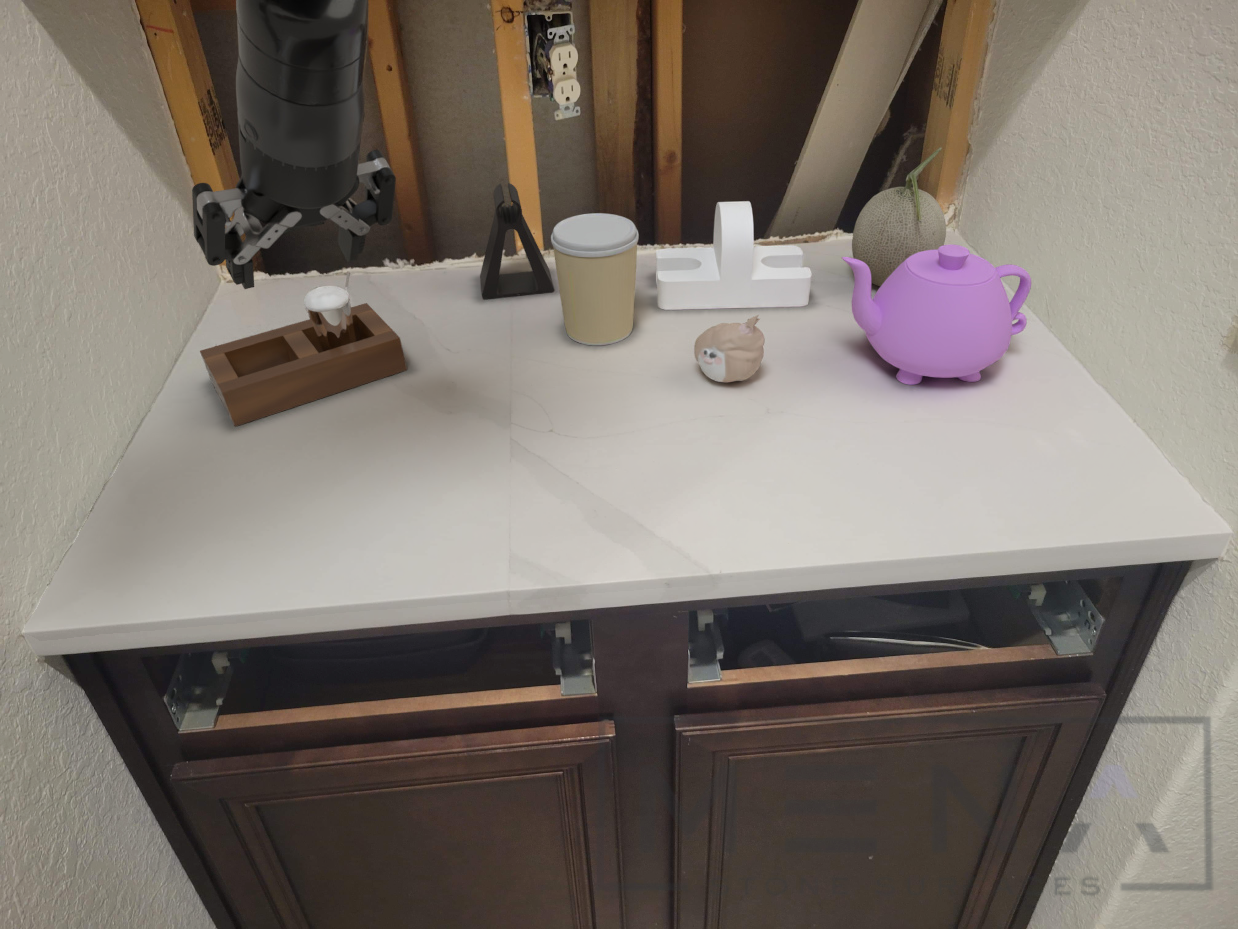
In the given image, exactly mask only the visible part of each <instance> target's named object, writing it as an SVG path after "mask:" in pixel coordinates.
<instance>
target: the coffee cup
mask: <svg viewBox="0 0 1238 929" xmlns="http://www.w3.org/2000/svg"><path fill="white" fill-rule="evenodd" d="M639 236H640V235H639V230H638V229H637V227H636V224H635V223H634V222H633V221H632V220H631V219H629V218H627V217H624V216H622V215H619V214H612V213H604V212H603V213H602V212H597V213H595V212H594V213H584V214H577V215H574V216H570V217H567V218H564V219H562V220H561V221H558V223H556V225H555V226H554V228H553V230H552V233H551V235H550V240H551V241H550V243H551V245H552V247H553V255H554V256H553V258H554V263H555V268H556V276H557V284H558V289H559V296H560V303H561V309H562V317H563V322H564V327H565V332H566V335H567V336H568V338H570V339H571V340H573V341H574V342H576V343H578V344H579V343H580V344H581V345H588V346H607V345H612V344H615V343H619V342H622V341H623V340H625V339H626V338H628V337H629V336H630V335H631V333H632V332H633V325H634V314H635V313H634V312H635V297H636V280H637V278H636V276H637V261H638V260H637V258H638V256H637V255H638V242H639Z"/></svg>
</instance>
